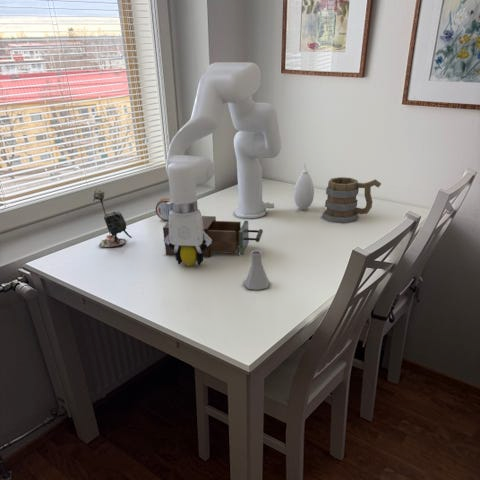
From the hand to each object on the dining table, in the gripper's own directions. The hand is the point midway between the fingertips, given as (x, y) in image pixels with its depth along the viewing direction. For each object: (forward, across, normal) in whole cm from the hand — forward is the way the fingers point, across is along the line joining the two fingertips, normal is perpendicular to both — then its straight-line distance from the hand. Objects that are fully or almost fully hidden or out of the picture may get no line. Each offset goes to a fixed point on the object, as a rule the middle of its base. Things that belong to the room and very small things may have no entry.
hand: (190, 262), depth 145 cm
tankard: (+2, +50, +50) cm, 70 cm away
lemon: (+1, 0, 0) cm, 1 cm away
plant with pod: (+1, -31, +15) cm, 35 cm away
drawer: (0, +11, +13) cm, 17 cm away
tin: (+1, -17, +41) cm, 45 cm away
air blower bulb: (+2, +32, +59) cm, 67 cm away
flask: (+1, +23, -10) cm, 25 cm away
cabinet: (+1, -3, +13) cm, 14 cm away
